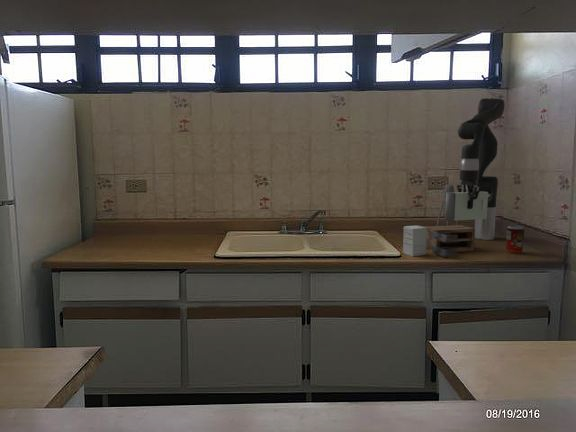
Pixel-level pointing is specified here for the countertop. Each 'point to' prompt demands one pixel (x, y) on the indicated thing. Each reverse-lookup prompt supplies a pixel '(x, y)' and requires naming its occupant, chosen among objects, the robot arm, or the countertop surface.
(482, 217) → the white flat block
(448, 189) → the citrus juicer
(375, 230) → the countertop surface
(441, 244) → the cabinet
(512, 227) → the soda can
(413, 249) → the supplement box
